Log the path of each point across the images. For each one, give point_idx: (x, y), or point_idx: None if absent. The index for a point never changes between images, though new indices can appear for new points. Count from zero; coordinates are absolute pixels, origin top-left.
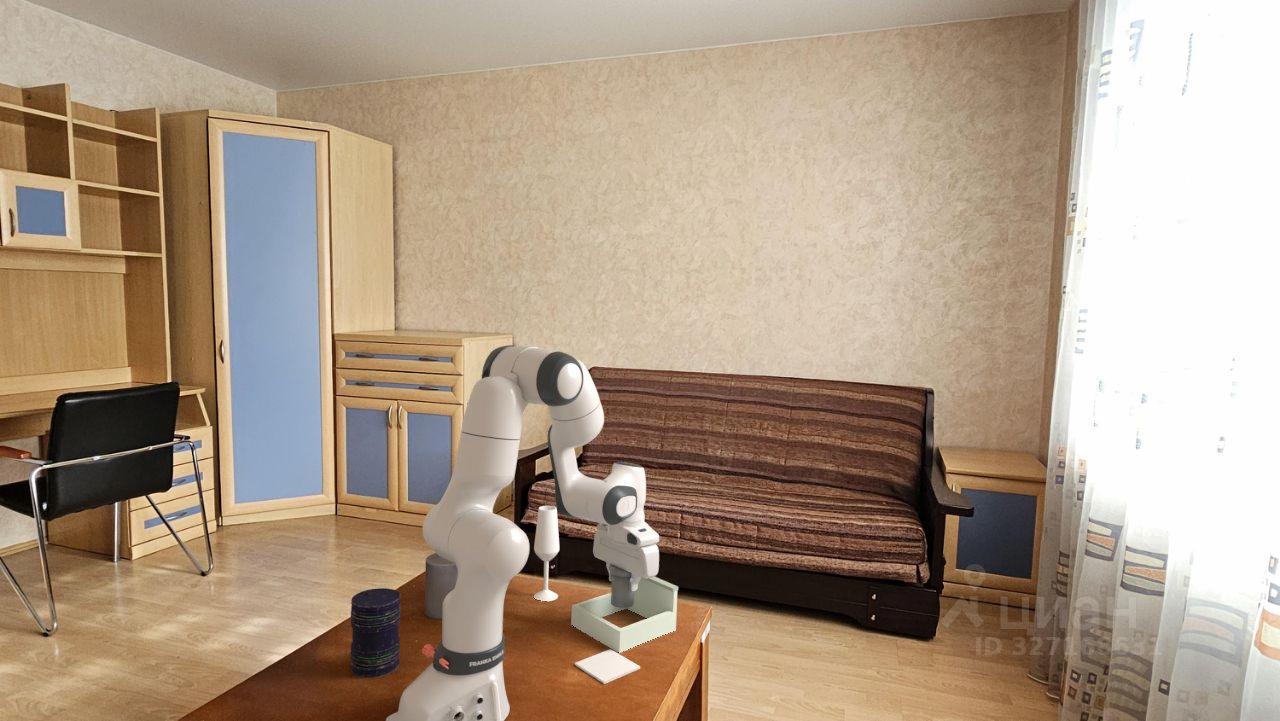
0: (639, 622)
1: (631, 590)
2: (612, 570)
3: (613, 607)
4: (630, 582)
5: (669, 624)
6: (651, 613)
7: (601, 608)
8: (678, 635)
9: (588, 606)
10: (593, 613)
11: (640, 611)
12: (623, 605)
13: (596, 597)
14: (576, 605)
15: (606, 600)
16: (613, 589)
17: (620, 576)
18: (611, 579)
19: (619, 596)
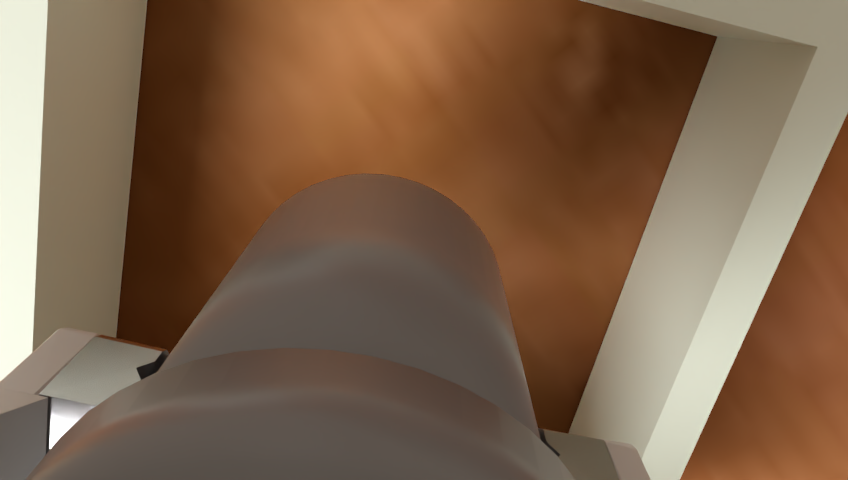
0: (19, 113)
1: (85, 331)
2: (431, 445)
3: (600, 402)
4: None
5: None
6: None
7: (653, 301)
8: None
9: (737, 175)
10: (677, 210)
11: None
12: (274, 215)
13: (744, 329)
14: (841, 30)
15: (653, 380)
16: (407, 255)
17: (165, 379)
18: (581, 448)
19: (296, 224)
